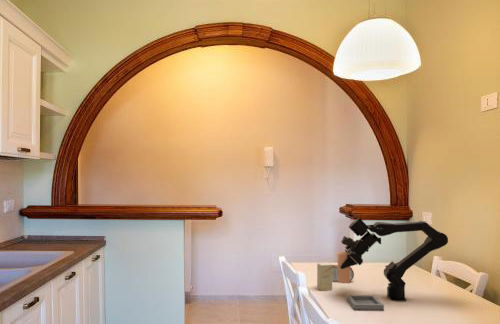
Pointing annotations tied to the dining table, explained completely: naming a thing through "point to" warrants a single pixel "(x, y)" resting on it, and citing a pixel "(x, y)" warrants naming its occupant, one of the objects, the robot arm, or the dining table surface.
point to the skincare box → (324, 276)
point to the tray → (365, 302)
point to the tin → (335, 273)
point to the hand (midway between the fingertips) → (340, 266)
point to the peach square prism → (343, 273)
